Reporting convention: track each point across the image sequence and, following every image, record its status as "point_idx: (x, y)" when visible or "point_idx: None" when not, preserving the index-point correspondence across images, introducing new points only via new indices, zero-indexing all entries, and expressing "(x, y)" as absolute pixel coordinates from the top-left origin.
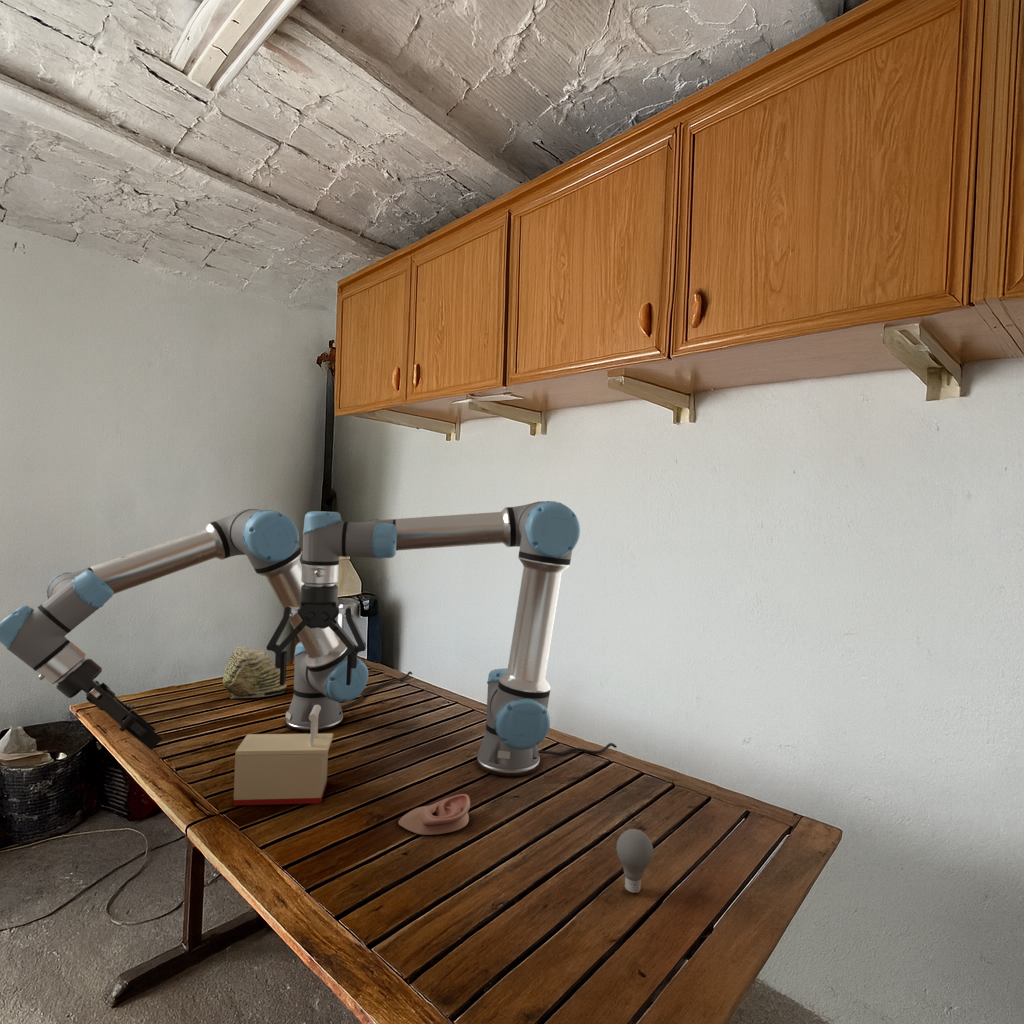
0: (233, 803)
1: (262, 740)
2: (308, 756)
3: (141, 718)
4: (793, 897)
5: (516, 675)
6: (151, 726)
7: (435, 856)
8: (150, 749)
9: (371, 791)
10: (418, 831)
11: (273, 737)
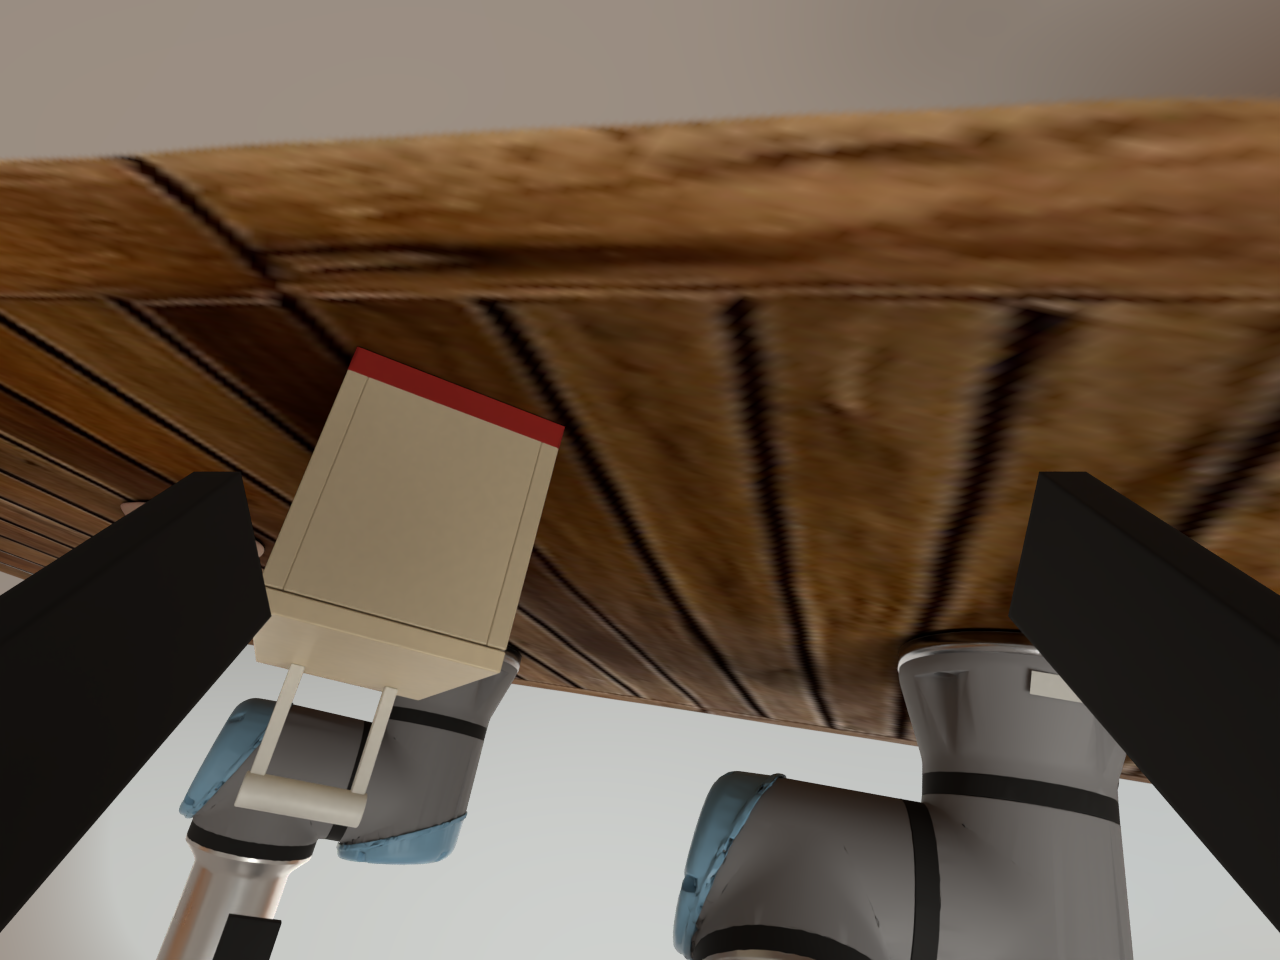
0: (355, 354)
1: (389, 660)
2: None
3: (1155, 773)
4: (10, 574)
5: (201, 873)
6: (1041, 648)
7: (30, 480)
8: (188, 477)
9: None
10: (125, 508)
11: (420, 673)
